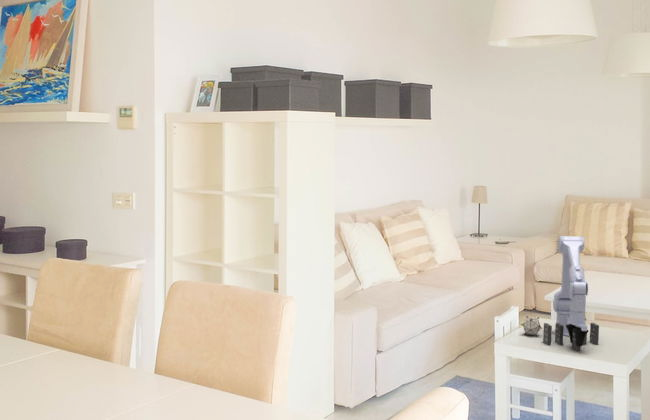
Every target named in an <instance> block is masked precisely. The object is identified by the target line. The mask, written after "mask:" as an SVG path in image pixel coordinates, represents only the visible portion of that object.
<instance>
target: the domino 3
mask: <svg viewBox="0 0 650 420" xmlns="http://www.w3.org/2000/svg"><path fill="white" fill-rule="evenodd" d="M573 329H576V328H573ZM581 348H582V346H576V339H575V334H574V331H572V343H571V349H573V350H575V351H576V352H581Z"/></svg>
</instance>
